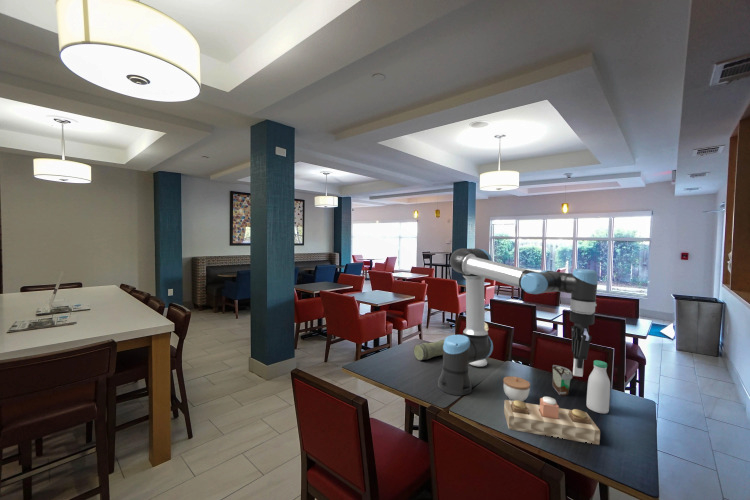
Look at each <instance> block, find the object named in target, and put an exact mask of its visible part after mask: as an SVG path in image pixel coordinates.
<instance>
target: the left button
mask: <svg viewBox="0 0 750 500" xmlns="http://www.w3.org/2000/svg"><path fill="white" fill-rule="evenodd" d="M526 403H527V402H525V401H519V400H515V401H514V402H512V404H511V408H512V411H513V412H515V413H522V414H528V408H527V406H526Z"/></svg>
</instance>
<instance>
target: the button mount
mask: <svg viewBox="0 0 750 500" xmlns="http://www.w3.org/2000/svg"><path fill="white" fill-rule="evenodd" d="M512 402H514V401H511V400H510V399H504V406H503V413H504V417H505V420H506V424H507V428H508V430H513V431H518V432H523V433H530V434H535V435H541V436H545V435H546V437H551V436H553V437H552V438H557V437H559V438H558V439H562V438H563V439H565V440H569V441H574V442H581V443H585V442H587V443H586V444H591V443H592V445H598V446H600V440H601V429H600V428H599V427H598V426H597V424H596V423H595V422H594V421H593V419H592V417H590V415H589V414H588V412H586V411H584V412H585V413H586V414H587V417H588V418H589V420H590V424H583V423H577V422H573V421H572V420H571V418H570V417H569V410H570V411H572V410H573V409H567V408H561V407H559V413H558V419H552V418H546V417H542V415H541V413H540V404H534V403H529V402H525V403H526V406H527V408H528V414H522V413H515V412H513V411H512V408H511V404H512Z"/></svg>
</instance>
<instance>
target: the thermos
mask: <svg viewBox="0 0 750 500" xmlns="http://www.w3.org/2000/svg"><path fill="white" fill-rule="evenodd" d="M444 340H445V338H443V339H439V340H437V341H434V342H423V343H418V344H416V345H414V347H413V354H414V357H415V358H416V360H418V361H425V360H429V359H431V358H434V357H438V356H443V345H444Z"/></svg>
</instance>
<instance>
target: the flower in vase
mask: <svg viewBox="0 0 750 500" xmlns="http://www.w3.org/2000/svg"><path fill="white" fill-rule="evenodd" d="M485 330H486V331H487V332H488V331H489V324H488V323H487V322H485ZM487 364H488V360H487V358H485V359H483V360H479V361H475V362H472V363H469V365H471V366H474V367H485V366H487Z"/></svg>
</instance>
